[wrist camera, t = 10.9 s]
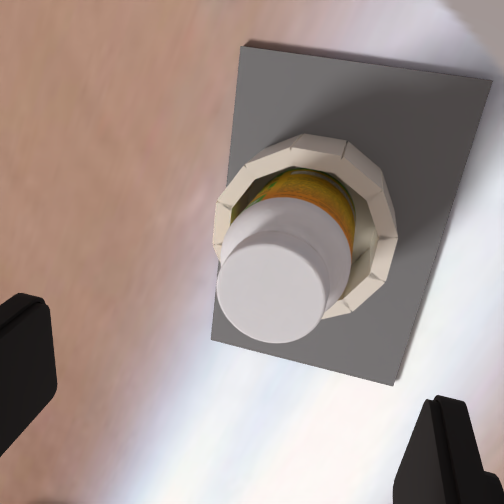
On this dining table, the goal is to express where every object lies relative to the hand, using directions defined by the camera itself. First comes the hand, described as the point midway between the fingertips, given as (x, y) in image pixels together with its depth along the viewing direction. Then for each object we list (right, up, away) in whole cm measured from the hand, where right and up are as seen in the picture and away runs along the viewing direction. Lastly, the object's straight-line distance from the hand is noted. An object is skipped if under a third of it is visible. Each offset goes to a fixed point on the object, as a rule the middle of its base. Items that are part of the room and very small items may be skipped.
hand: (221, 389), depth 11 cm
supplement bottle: (+4, +5, +14) cm, 15 cm away
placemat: (+5, +5, +15) cm, 16 cm away
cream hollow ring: (+4, +5, +14) cm, 16 cm away
